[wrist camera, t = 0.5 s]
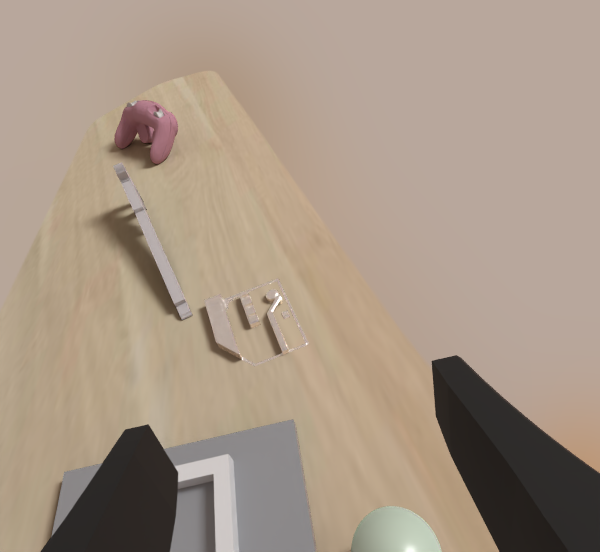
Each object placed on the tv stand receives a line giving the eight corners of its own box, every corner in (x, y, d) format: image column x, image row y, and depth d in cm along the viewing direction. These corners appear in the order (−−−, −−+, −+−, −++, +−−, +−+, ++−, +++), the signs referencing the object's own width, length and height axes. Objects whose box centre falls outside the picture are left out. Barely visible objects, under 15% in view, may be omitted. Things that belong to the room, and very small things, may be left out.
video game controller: (183, 163, 58) (184, 108, 55) (154, 166, 55) (153, 108, 51) (141, 145, 63) (140, 95, 60) (112, 147, 60) (109, 94, 56)
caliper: (134, 205, 51) (109, 160, 46) (143, 201, 51) (119, 156, 46) (183, 322, 38) (154, 276, 33) (194, 316, 38) (167, 270, 33)
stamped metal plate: (208, 309, 39) (203, 299, 38) (279, 282, 40) (276, 271, 39) (229, 381, 34) (223, 371, 32) (310, 348, 34) (307, 338, 33)
